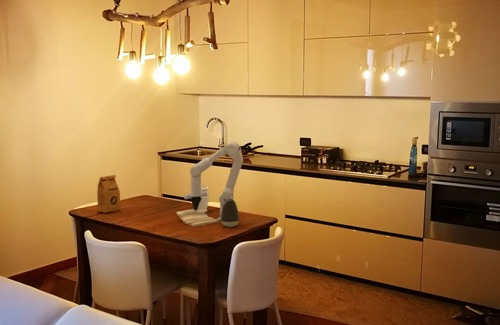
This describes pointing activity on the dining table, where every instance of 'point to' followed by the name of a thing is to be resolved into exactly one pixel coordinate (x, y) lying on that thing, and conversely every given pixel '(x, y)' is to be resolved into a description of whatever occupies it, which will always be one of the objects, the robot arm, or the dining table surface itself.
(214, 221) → the folded beige cloth
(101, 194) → the coffee package
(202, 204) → the jar
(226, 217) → the smart speaker
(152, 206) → the dining table surface
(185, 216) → the cream folded cloth
